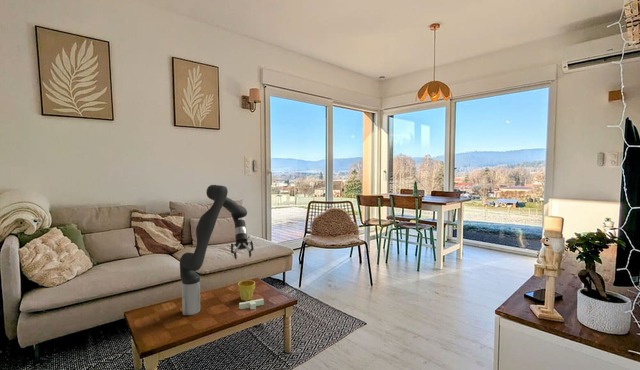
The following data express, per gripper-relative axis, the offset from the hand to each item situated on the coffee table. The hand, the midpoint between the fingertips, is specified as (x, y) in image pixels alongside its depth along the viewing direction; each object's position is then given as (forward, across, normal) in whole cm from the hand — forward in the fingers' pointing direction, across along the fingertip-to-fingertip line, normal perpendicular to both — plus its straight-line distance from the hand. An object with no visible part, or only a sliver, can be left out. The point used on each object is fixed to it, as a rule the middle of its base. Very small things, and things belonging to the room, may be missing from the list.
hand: (243, 258), depth 197 cm
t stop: (+32, +3, -3) cm, 32 cm away
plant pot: (+24, 0, +7) cm, 25 cm away
